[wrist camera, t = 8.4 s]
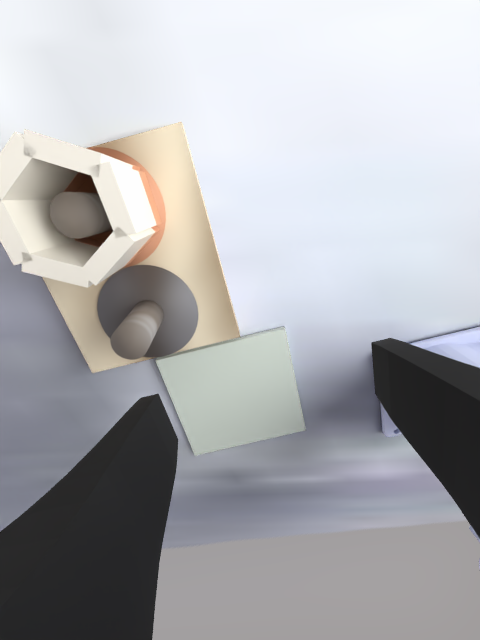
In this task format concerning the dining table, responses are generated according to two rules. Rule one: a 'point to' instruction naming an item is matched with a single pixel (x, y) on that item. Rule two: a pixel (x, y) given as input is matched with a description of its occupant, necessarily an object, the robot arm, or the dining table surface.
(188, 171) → the pin board
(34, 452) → the dining table surface
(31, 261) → the sleeve
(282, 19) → the dining table surface
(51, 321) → the dining table surface
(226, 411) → the mat
